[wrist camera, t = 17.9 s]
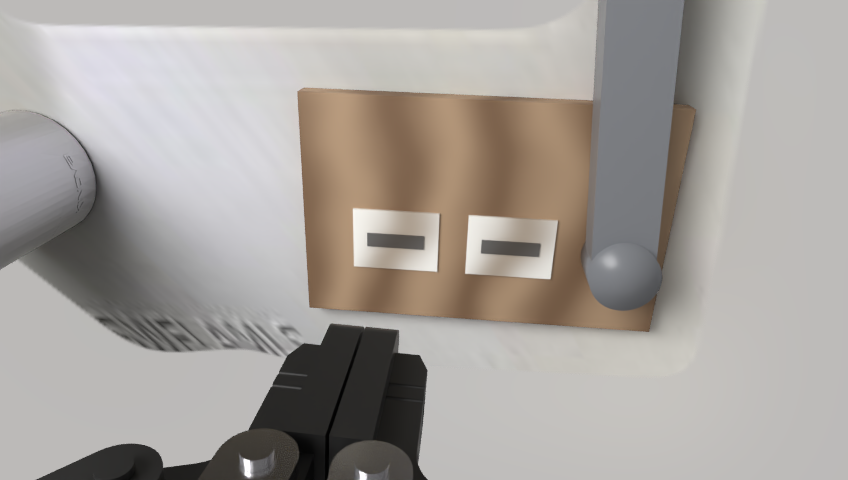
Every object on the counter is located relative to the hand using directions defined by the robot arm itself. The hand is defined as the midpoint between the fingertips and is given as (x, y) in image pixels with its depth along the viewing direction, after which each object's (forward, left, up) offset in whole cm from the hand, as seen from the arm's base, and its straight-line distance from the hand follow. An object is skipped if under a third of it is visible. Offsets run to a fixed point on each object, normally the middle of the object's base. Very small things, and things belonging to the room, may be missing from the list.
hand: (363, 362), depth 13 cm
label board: (+3, -7, -29) cm, 30 cm away
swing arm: (+11, +1, -27) cm, 29 cm away
